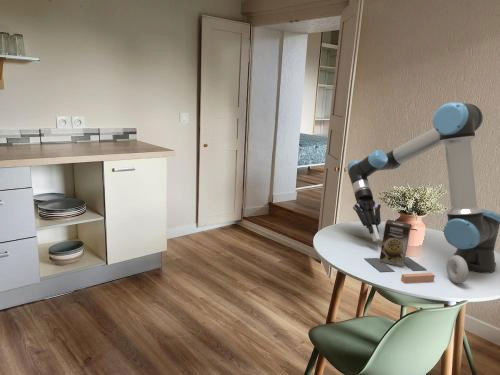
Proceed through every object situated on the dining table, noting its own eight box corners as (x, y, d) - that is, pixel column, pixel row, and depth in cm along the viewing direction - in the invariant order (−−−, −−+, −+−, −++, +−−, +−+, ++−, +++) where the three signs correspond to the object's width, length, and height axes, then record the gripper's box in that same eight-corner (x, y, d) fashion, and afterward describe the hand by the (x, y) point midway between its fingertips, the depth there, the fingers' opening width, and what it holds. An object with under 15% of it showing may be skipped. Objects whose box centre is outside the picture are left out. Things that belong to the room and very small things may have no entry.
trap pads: (407, 257, 161) (407, 256, 161) (426, 270, 150) (426, 269, 150) (364, 259, 157) (364, 258, 157) (380, 272, 145) (380, 271, 145)
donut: (442, 275, 146) (447, 250, 144) (451, 275, 147) (456, 251, 144) (458, 288, 137) (463, 262, 134) (467, 288, 137) (473, 262, 135)
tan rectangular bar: (429, 279, 143) (431, 272, 142) (433, 281, 141) (434, 275, 140) (400, 280, 140) (401, 274, 139) (404, 283, 138) (405, 276, 137)
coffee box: (378, 261, 154) (384, 222, 151) (381, 256, 160) (387, 218, 156) (403, 267, 150) (409, 227, 147) (405, 261, 156) (411, 223, 152)
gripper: (371, 196, 182) (386, 243, 170) (346, 196, 179) (358, 244, 167) (379, 188, 176) (394, 236, 164) (353, 187, 173) (366, 236, 161)
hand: (376, 240), depth 165 cm, fingers closed
